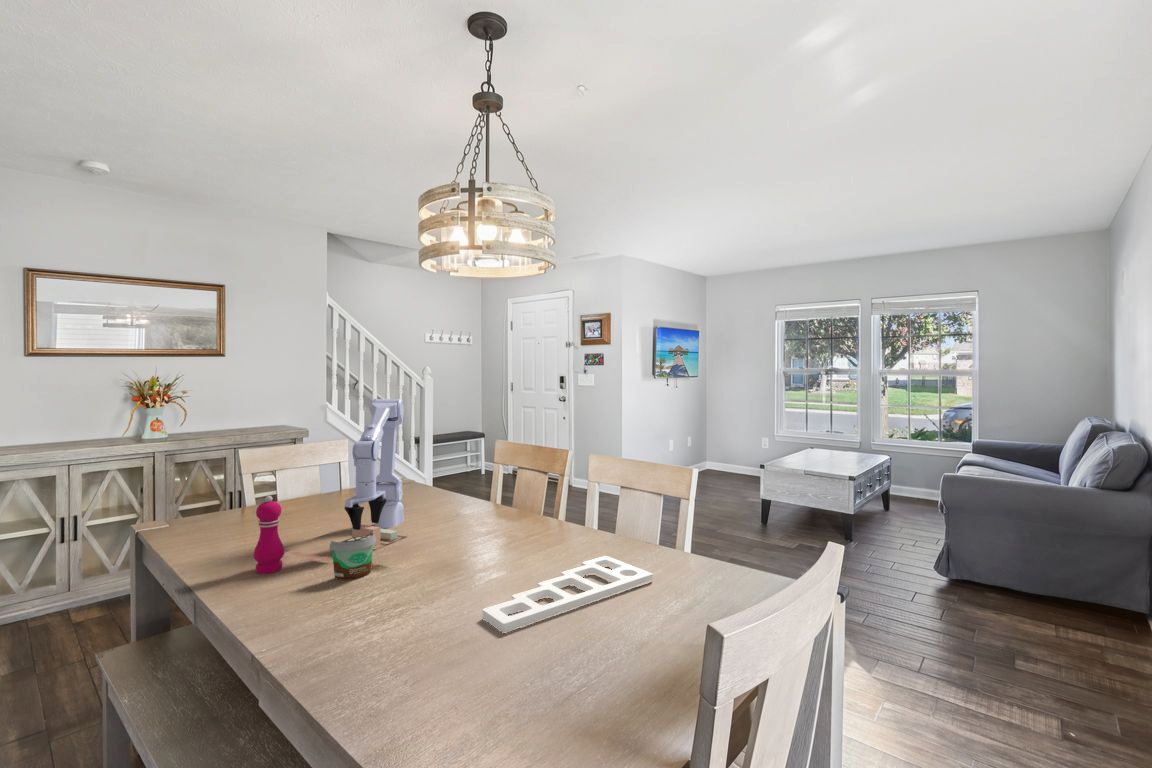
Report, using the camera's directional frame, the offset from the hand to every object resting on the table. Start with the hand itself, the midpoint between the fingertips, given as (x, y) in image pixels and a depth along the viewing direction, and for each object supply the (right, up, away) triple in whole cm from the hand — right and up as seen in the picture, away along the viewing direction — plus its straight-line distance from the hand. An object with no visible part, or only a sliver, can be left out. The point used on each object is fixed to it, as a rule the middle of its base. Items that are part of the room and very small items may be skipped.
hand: (366, 526), depth 166 cm
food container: (+6, -8, -20) cm, 23 cm away
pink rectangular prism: (0, -7, 0) cm, 7 cm away
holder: (+60, -9, -31) cm, 68 cm away
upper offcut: (+3, -6, +8) cm, 10 cm away
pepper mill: (-20, -8, -17) cm, 27 cm away
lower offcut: (+3, -8, +8) cm, 11 cm away
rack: (+1, -7, +4) cm, 8 cm away
